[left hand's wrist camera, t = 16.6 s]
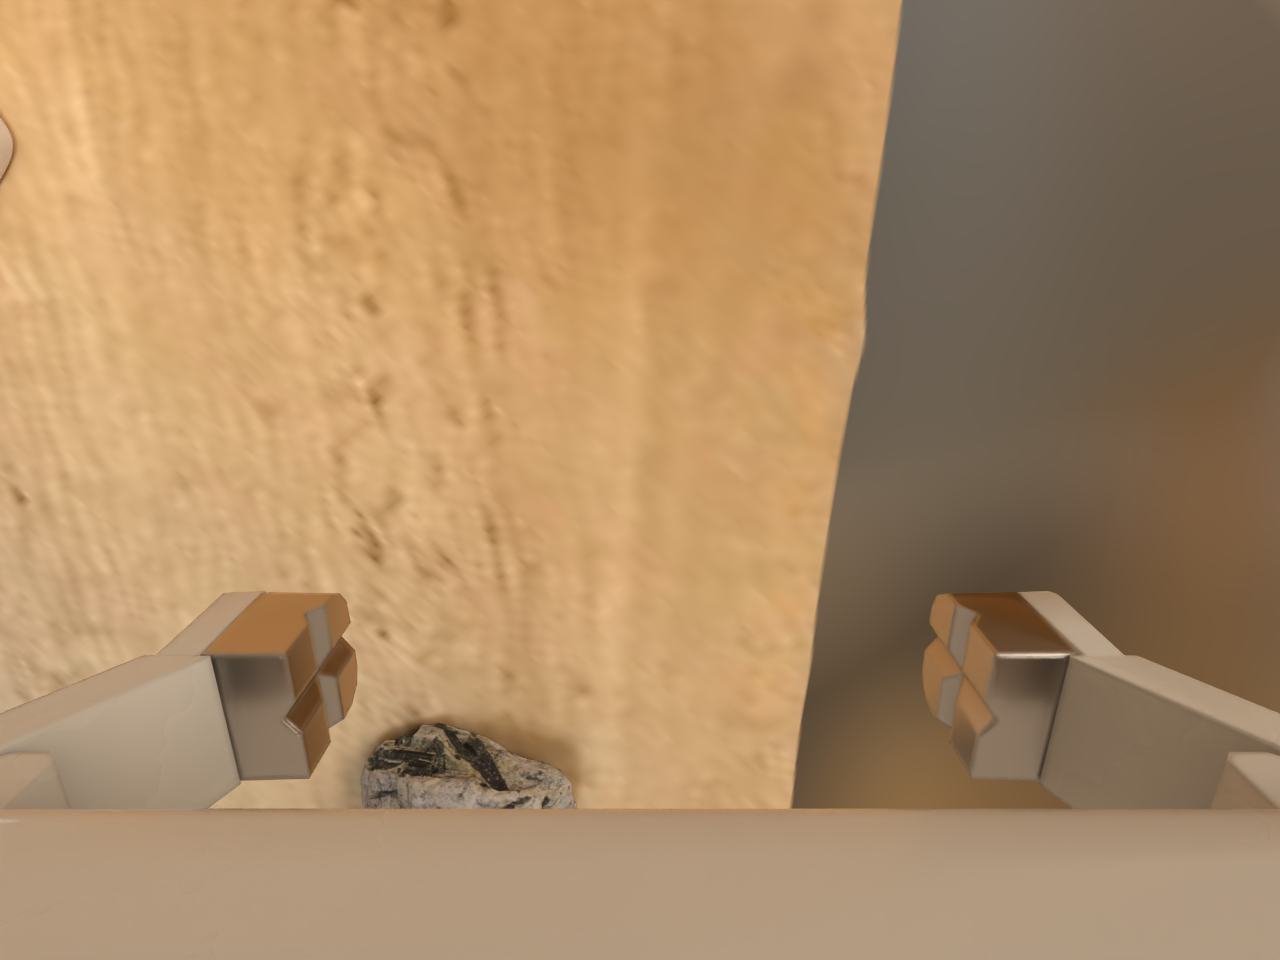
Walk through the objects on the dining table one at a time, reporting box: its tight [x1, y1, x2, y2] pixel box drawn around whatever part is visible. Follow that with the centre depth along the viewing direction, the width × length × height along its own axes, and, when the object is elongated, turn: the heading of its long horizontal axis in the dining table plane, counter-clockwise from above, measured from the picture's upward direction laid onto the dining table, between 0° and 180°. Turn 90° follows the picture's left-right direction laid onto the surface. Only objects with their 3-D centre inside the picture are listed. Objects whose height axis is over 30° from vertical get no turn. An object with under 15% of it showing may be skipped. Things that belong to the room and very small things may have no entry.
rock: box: [361, 723, 577, 809], centre depth 49 cm, size 15×10×7 cm
